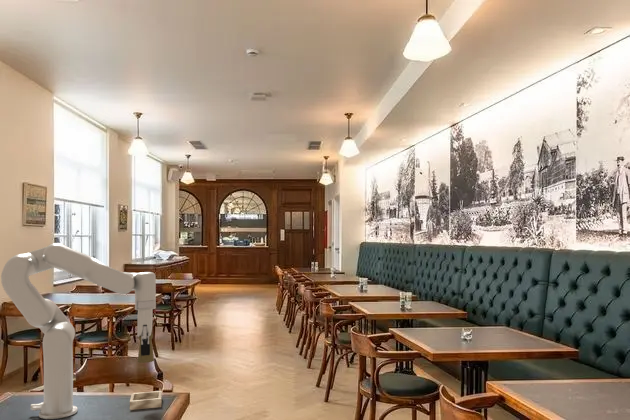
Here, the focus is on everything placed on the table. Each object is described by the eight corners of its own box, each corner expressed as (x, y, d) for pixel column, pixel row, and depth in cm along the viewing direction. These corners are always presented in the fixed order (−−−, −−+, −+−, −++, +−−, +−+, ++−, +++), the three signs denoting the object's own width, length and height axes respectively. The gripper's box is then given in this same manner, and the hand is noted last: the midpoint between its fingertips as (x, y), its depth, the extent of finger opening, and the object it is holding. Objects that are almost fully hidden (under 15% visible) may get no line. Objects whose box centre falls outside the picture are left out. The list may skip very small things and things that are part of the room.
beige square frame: (129, 409, 200) (129, 401, 200) (131, 401, 210) (131, 393, 210) (161, 407, 202) (161, 398, 202) (161, 398, 213) (161, 390, 213)
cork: (149, 362, 203) (149, 333, 204) (134, 362, 205) (134, 332, 205) (157, 359, 209) (156, 330, 210) (142, 358, 211) (142, 329, 211)
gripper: (136, 303, 215) (136, 350, 214) (133, 308, 199) (133, 359, 198) (156, 302, 217) (156, 348, 216) (155, 307, 201) (155, 357, 200)
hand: (145, 353), depth 207 cm, fingers closed on cork, 4 cm apart
